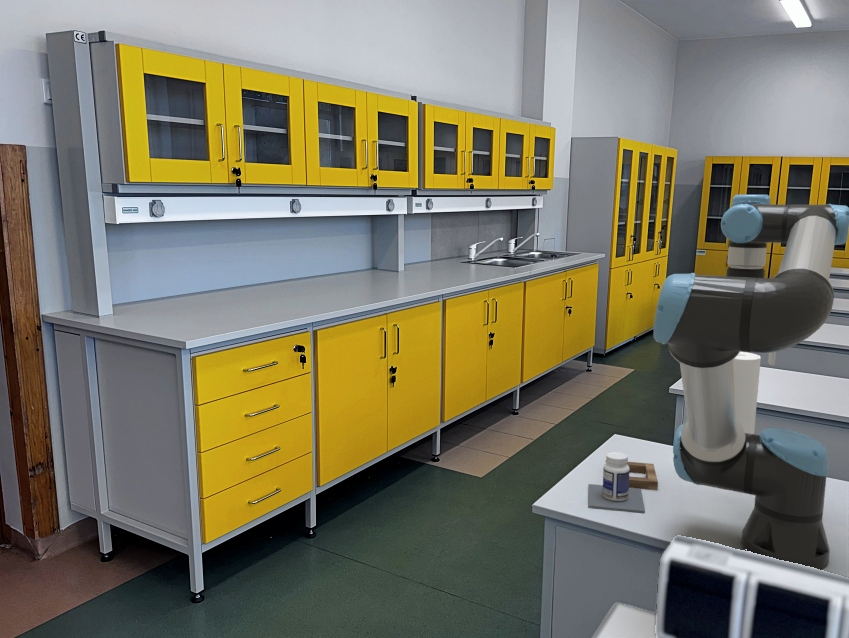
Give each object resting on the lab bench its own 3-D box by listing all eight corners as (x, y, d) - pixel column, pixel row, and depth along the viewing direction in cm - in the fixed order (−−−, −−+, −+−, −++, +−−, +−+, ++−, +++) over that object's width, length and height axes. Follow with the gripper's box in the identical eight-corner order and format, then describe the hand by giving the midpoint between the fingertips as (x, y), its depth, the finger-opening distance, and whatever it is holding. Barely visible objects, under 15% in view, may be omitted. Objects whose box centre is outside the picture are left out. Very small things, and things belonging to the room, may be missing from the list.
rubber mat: (645, 513, 151) (645, 511, 151) (588, 507, 154) (588, 505, 153) (640, 490, 162) (641, 488, 162) (588, 485, 165) (588, 483, 165)
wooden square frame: (657, 490, 163) (658, 482, 162) (606, 485, 165) (606, 477, 165) (653, 471, 174) (653, 463, 173) (605, 467, 176) (605, 459, 176)
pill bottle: (628, 493, 160) (630, 452, 158) (628, 503, 154) (630, 461, 153) (602, 490, 161) (604, 449, 160) (601, 500, 156) (603, 458, 154)
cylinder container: (757, 476, 171) (768, 357, 166) (718, 476, 171) (728, 357, 166) (740, 462, 180) (750, 349, 175) (704, 461, 180) (713, 349, 175)
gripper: (803, 266, 151) (794, 361, 154) (682, 263, 156) (676, 355, 160) (814, 269, 143) (804, 369, 147) (687, 267, 149) (680, 363, 153)
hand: (738, 362), depth 154 cm, fingers open, 13 cm apart
